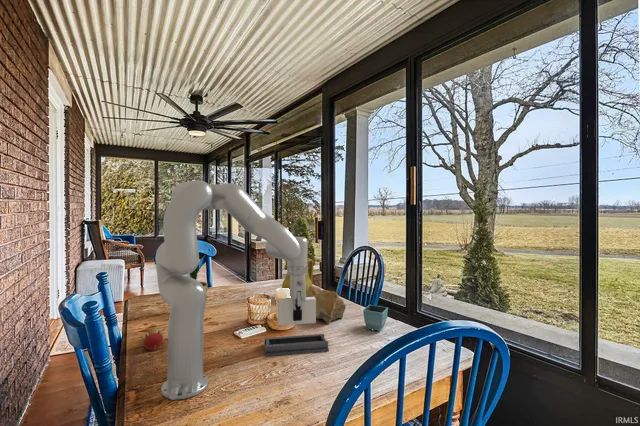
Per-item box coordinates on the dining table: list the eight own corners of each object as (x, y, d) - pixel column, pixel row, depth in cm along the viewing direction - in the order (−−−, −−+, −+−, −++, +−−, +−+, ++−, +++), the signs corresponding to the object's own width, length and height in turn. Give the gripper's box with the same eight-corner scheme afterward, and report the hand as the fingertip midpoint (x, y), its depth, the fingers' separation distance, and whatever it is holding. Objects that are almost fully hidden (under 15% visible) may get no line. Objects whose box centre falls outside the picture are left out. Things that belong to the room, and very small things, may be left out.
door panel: (315, 322, 119) (316, 299, 119) (278, 325, 116) (278, 301, 116) (313, 319, 122) (314, 296, 122) (277, 321, 119) (277, 298, 119)
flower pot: (362, 330, 137) (362, 309, 137) (369, 323, 145) (369, 304, 145) (382, 334, 133) (382, 313, 133) (387, 327, 141) (388, 307, 141)
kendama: (139, 340, 126) (139, 352, 111) (142, 324, 128) (143, 333, 112) (160, 340, 130) (163, 352, 115) (163, 324, 131) (167, 333, 116)
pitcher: (278, 297, 184) (281, 254, 183) (309, 297, 189) (312, 255, 189) (283, 307, 168) (287, 260, 167) (317, 306, 173) (320, 261, 172)
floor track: (328, 351, 116) (328, 343, 116) (265, 356, 111) (265, 348, 111) (322, 340, 126) (322, 332, 126) (264, 344, 121) (264, 336, 121)
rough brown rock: (356, 325, 146) (358, 292, 147) (325, 328, 138) (327, 293, 139) (330, 312, 166) (332, 283, 167) (302, 313, 158) (304, 283, 159)
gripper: (311, 274, 111) (310, 326, 112) (303, 265, 127) (303, 311, 128) (289, 274, 110) (289, 327, 110) (284, 266, 126) (284, 312, 126)
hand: (296, 318), depth 119 cm, fingers closed on door panel, 3 cm apart
